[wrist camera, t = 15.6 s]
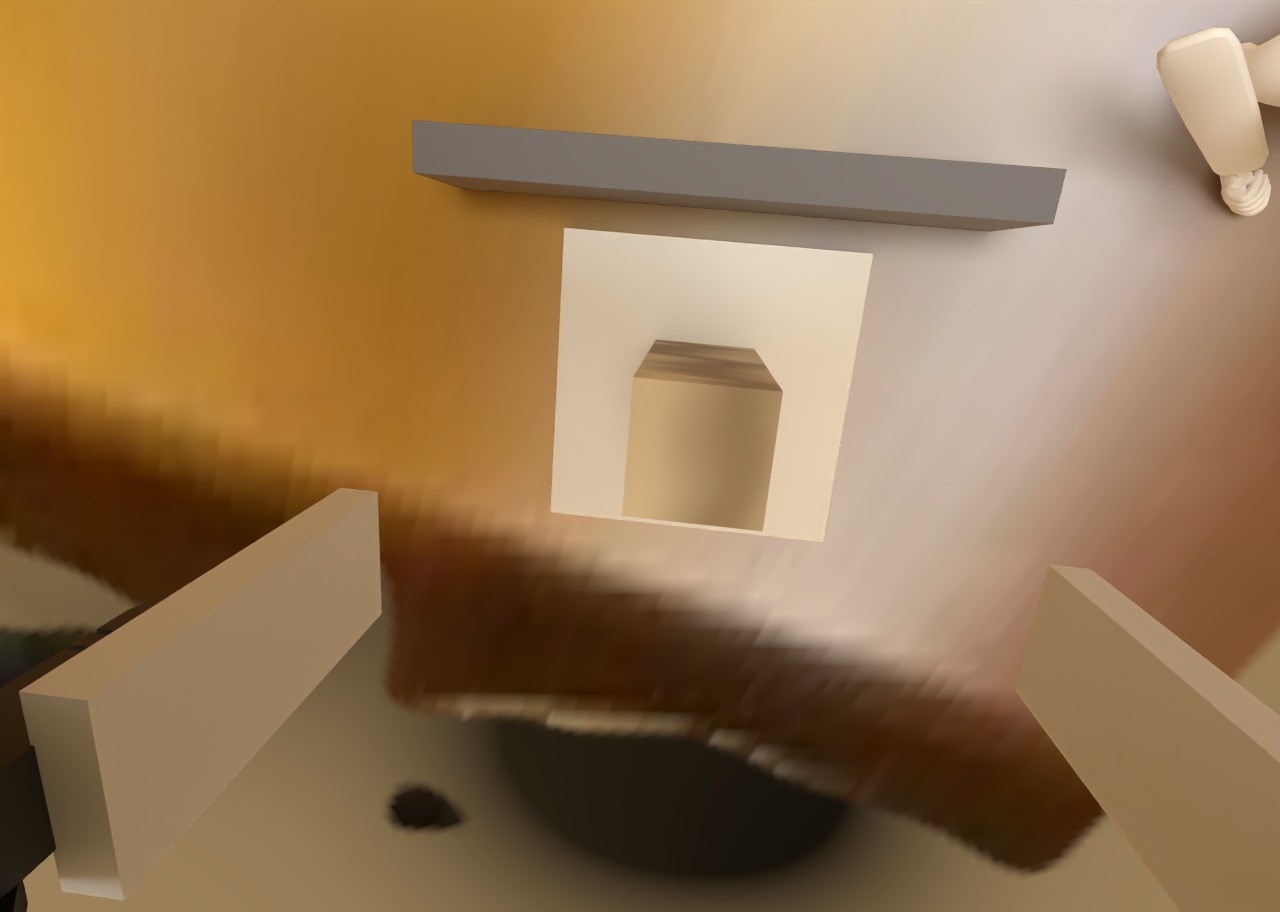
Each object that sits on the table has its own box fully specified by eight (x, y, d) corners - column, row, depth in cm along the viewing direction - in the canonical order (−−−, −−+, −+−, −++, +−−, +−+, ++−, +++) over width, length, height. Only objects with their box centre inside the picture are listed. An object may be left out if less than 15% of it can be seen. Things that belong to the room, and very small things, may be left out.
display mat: (554, 506, 38) (550, 512, 37) (568, 229, 34) (564, 227, 33) (819, 535, 37) (823, 542, 36) (868, 254, 33) (873, 253, 32)
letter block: (647, 437, 35) (621, 521, 24) (655, 339, 34) (633, 377, 22) (741, 447, 35) (762, 536, 23) (754, 348, 33) (782, 391, 22)
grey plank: (462, 188, 34) (413, 172, 28) (462, 145, 33) (412, 120, 27) (989, 231, 32) (1053, 223, 26) (999, 186, 31) (1066, 169, 26)
